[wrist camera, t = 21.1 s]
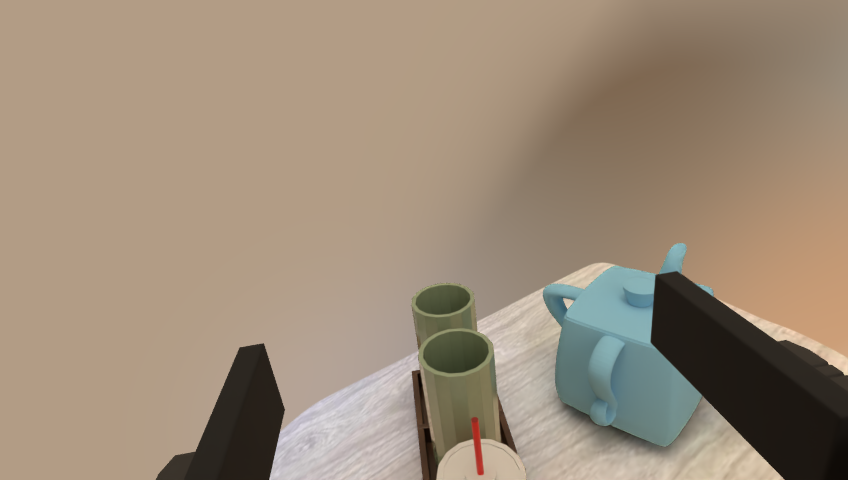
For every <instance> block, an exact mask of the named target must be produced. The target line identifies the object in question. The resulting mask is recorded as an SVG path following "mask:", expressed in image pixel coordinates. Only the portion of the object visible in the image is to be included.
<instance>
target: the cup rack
mask: <svg viewBox="0 0 848 480" xmlns="http://www.w3.org/2000/svg"><path fill="white" fill-rule="evenodd" d="M412 379H413V388H414V398H415V408H416V417H417V427H418V437H419V446H420V456H421V466H422V475H423V480H436V478H437V470H436V464H435V458H434V451H433V445H432V439H431V433H430V427H429V421H428V415H427V409H426V403H425V397H424V390H423V384H422V378H421V372H420V370H416V371H412ZM497 397H498V394H497ZM498 410H499V423H500V435H501V443H502V444H505V445H507V446H508V447H509V448H510V449H511V450H513V451H514V452H515V453H516V454H517V451H516V448H515V445H514V442H513V439H512V436H511V433H510V430H509V427H508V424H507V421H506V418H505V415H504V412H503V409H502V406H501V403H500V400H499V397H498ZM517 455H518V454H517Z"/></svg>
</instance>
